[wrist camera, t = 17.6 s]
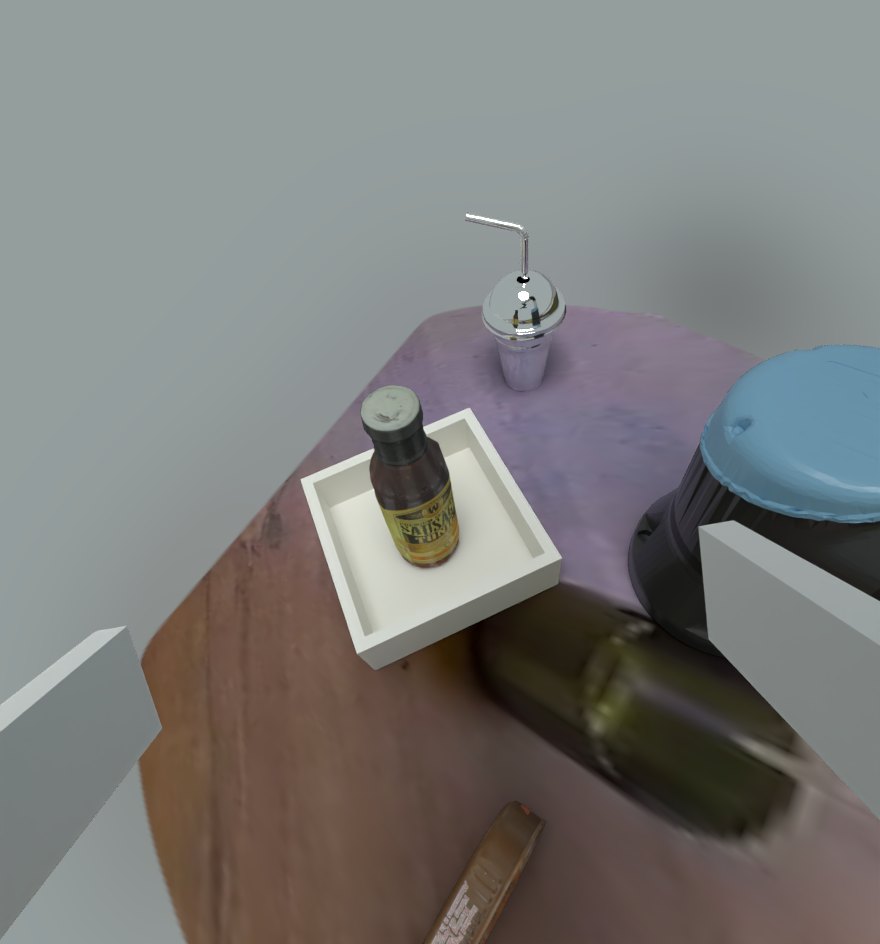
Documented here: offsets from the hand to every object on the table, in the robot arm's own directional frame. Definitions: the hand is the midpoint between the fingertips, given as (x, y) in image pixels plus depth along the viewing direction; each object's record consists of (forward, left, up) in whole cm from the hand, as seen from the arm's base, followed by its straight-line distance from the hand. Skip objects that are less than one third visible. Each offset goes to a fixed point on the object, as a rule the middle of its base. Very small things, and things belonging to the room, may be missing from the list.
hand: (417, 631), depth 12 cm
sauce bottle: (-2, -19, -34) cm, 39 cm away
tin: (+6, +8, -35) cm, 37 cm away
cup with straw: (-20, -34, -35) cm, 53 cm away
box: (-2, -19, -35) cm, 40 cm away
